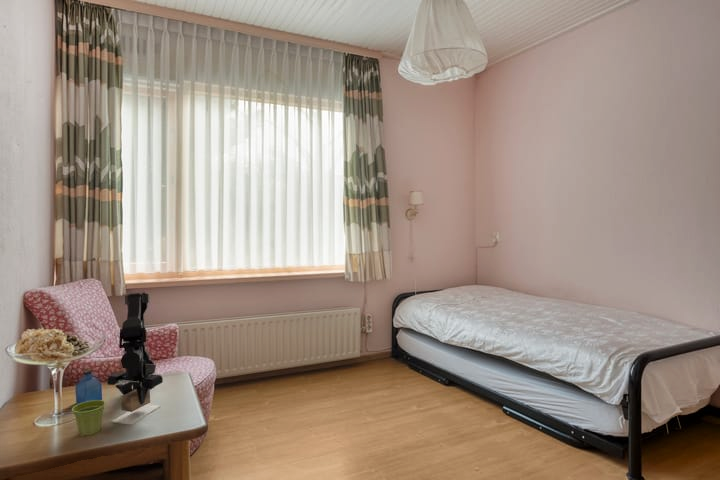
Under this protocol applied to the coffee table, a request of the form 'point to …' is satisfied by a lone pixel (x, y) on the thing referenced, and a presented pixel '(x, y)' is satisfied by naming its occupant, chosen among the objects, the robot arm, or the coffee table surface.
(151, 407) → the placemat
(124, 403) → the walnut block
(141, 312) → the robot arm
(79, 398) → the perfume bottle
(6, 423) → the coffee table surface
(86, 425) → the plant pot
